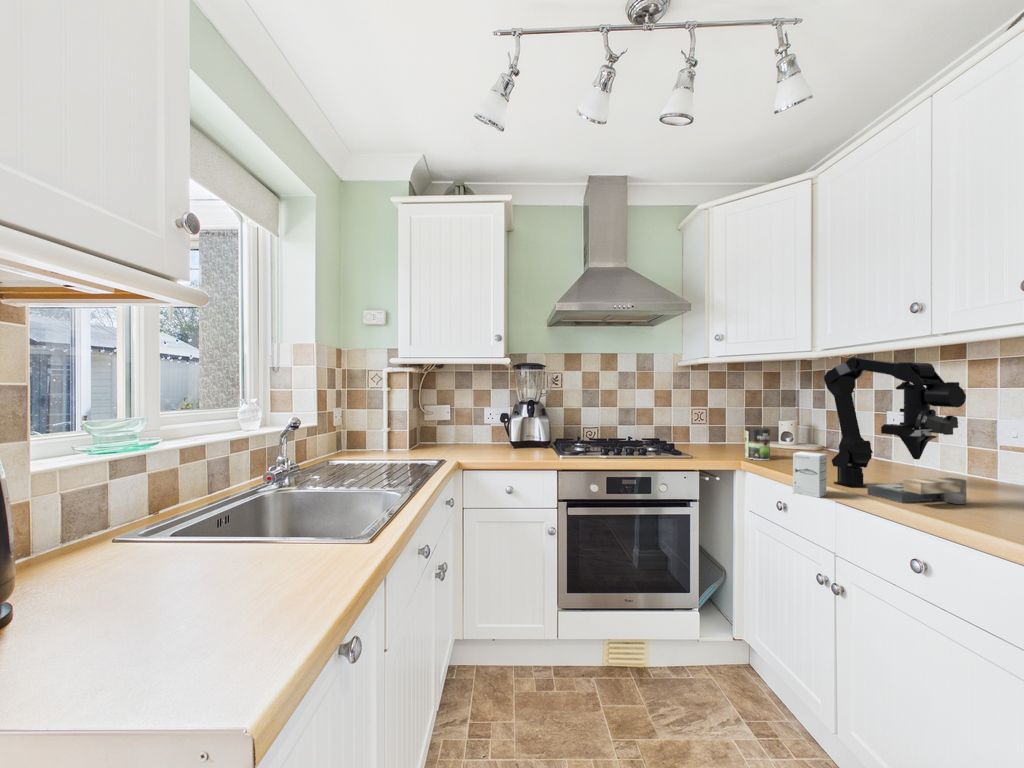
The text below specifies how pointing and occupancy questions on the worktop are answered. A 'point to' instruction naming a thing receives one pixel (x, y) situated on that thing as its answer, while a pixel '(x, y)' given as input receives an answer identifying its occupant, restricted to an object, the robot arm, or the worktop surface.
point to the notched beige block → (939, 488)
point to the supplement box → (809, 474)
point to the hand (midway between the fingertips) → (916, 459)
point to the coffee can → (757, 443)
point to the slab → (901, 493)
